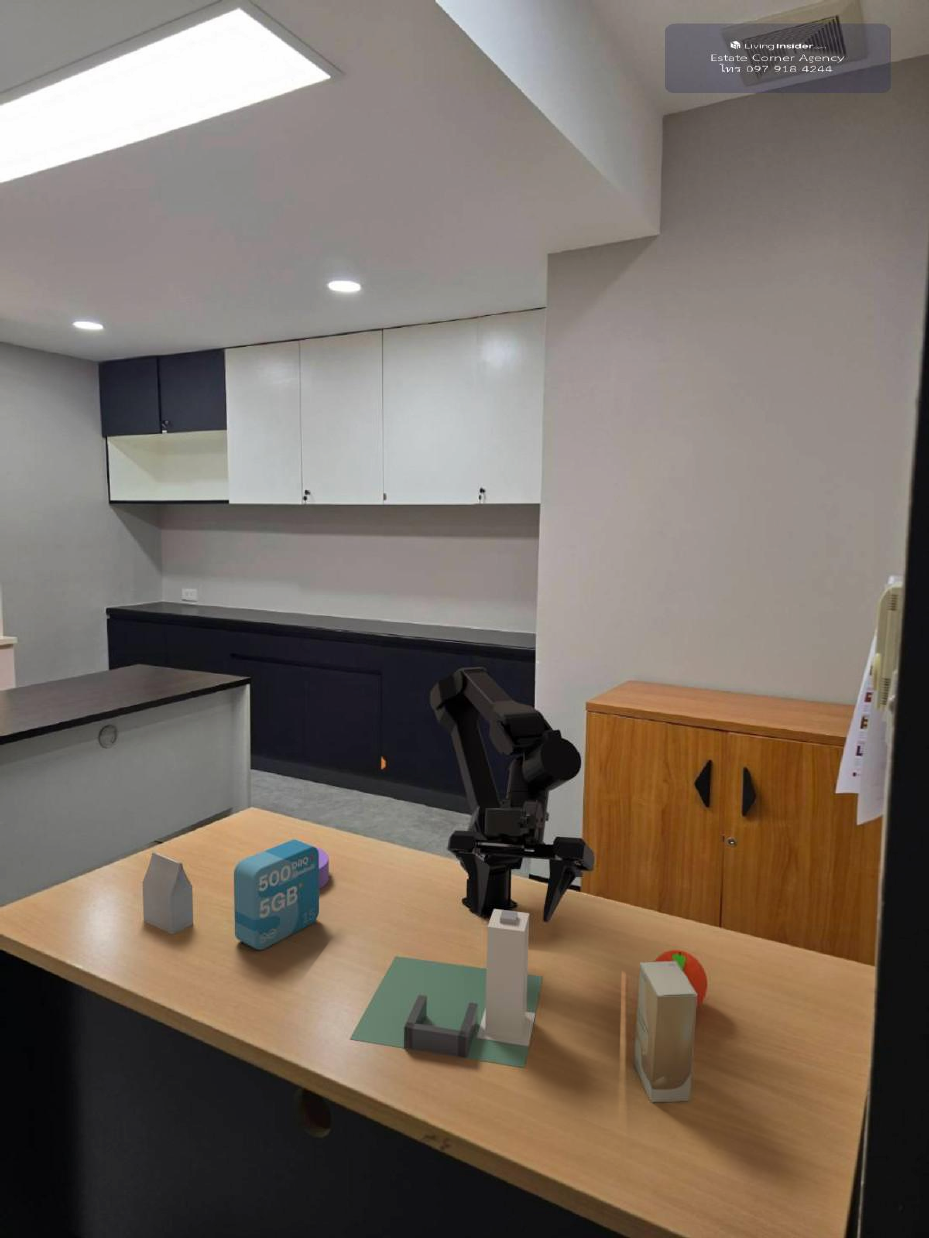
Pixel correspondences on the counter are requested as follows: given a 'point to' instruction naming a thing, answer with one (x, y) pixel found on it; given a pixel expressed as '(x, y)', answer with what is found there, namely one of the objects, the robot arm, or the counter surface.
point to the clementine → (688, 970)
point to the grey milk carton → (167, 895)
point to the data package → (276, 893)
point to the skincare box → (665, 1031)
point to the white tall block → (507, 973)
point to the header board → (441, 1013)
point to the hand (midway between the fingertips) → (510, 918)
